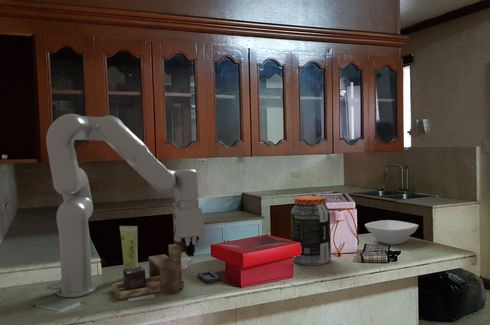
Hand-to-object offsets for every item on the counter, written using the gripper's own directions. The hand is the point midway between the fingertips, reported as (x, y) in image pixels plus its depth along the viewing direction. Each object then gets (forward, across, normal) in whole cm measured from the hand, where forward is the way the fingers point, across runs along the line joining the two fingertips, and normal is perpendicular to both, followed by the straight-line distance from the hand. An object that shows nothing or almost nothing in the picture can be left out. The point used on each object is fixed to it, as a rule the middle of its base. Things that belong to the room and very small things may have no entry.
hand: (190, 255), depth 151 cm
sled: (+9, -15, 0) cm, 18 cm away
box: (+10, -20, +1) cm, 22 cm away
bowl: (+10, +100, +4) cm, 101 cm away
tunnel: (+9, -10, 0) cm, 14 cm away
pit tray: (+9, +7, 0) cm, 11 cm away
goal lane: (+9, -19, 0) cm, 22 cm away
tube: (+10, -18, +16) cm, 26 cm away
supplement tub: (+10, +51, -1) cm, 52 cm away
